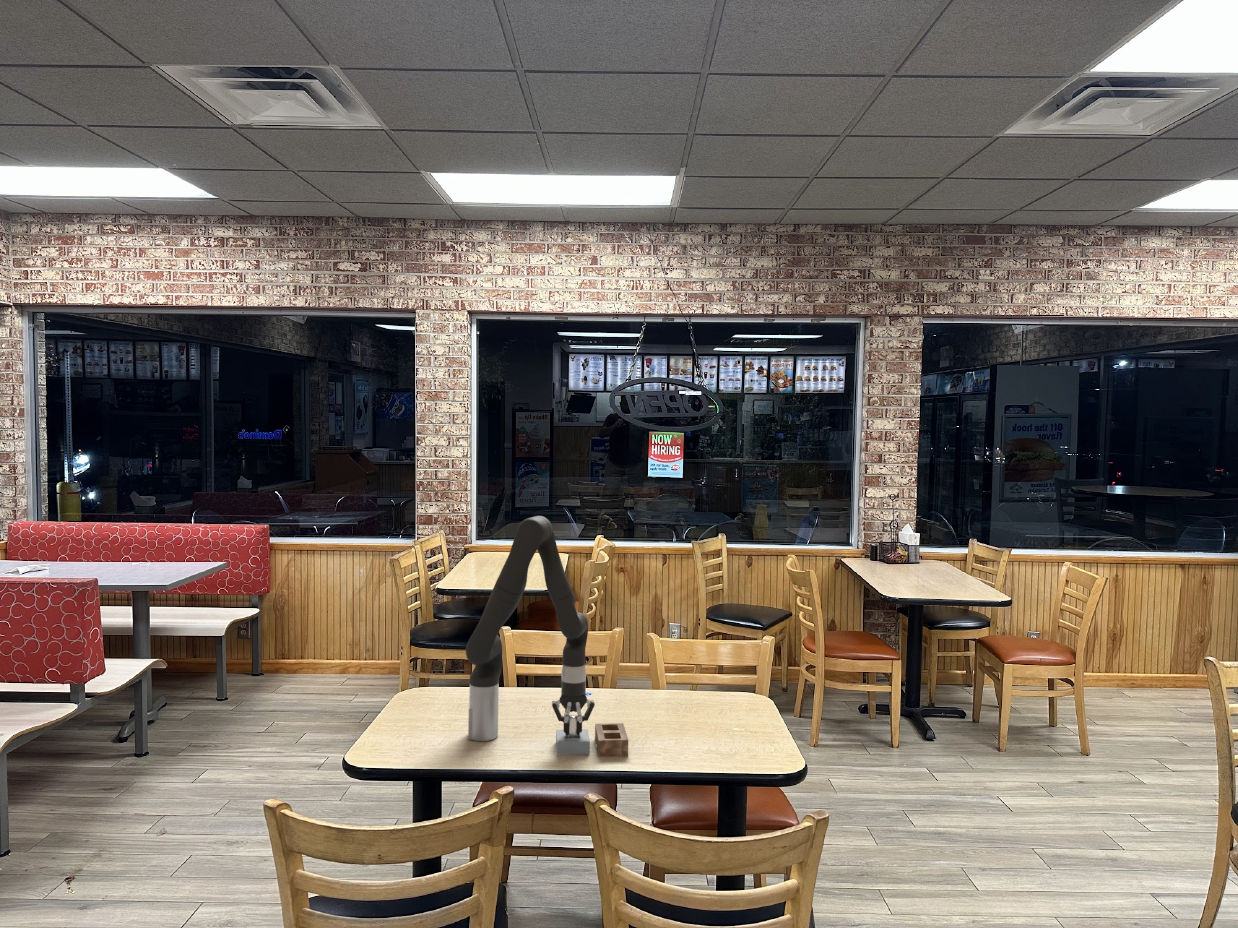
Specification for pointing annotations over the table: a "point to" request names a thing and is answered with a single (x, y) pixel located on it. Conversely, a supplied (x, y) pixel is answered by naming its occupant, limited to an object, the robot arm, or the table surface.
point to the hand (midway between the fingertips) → (572, 733)
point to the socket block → (572, 743)
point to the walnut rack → (611, 740)
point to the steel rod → (572, 726)
